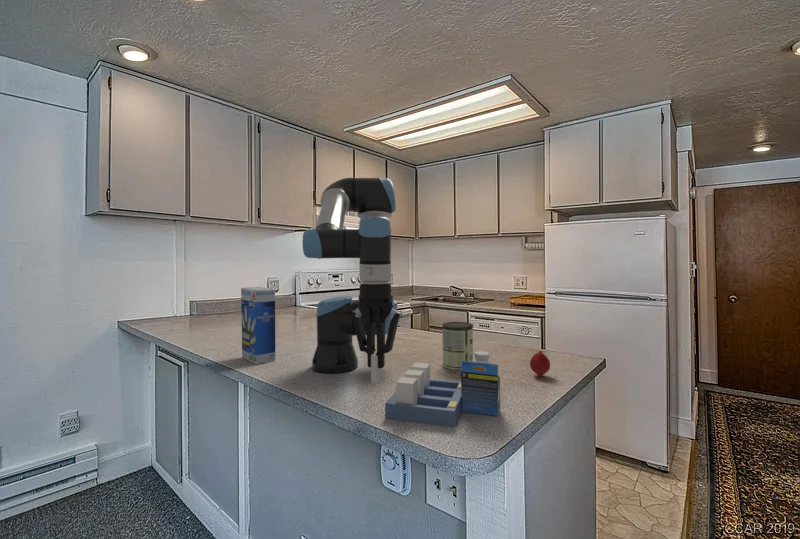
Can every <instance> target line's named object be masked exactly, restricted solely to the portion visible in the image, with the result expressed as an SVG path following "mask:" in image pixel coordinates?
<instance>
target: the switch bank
mask: <svg viewBox="0 0 800 539" xmlns="http://www.w3.org/2000/svg"><path fill="white" fill-rule="evenodd" d="M417 399H418V404H417V405H414V404H405V403H397V402H396V391H395V392H394V393H393V395H391V396H390V397H389V399H388V400H387V401H385V403H384V404H385V405H384V410H385V411H384V414H385V415H384V419H388V420H394V421H395V420H396V421H403V422H410V423H411V422H412V423H418V424H419V423H420V424H426V425H435V426H442V427H449V428H450V427H451V428H455V427H456V425H457V422H458V420H459V417H460V415H461V412H462V410H461V381H456V380H446V379H445V380H444V379H443V380H442V379H435V378H430V386H424V395H419V394H417Z"/></svg>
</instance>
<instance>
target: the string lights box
mask: <svg viewBox="0 0 800 539" xmlns="http://www.w3.org/2000/svg"><path fill="white" fill-rule="evenodd" d="M240 296H241V297H240V298H241V299H240V301H241V303H240V305H241V310H240V311H241V312H240V313H241V358H243V359H244V360H246V361H249V362H250V363H253V364H254V365H256V364H257V365H261V364H260V363H263V364H266V363H265V362H268V363H271V362H270V361H273V362H276V361H275V360H276V289H273V288H272V289H271V288H267V287H262V286H250V287H241V288H240Z"/></svg>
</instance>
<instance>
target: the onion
mask: <svg viewBox="0 0 800 539" xmlns="http://www.w3.org/2000/svg"><path fill="white" fill-rule="evenodd" d="M529 364H530V365H529V366H530V369H531V371H533V372H534V373H535V374H536V375H537V376H539V377H542V376H544V375H545V374H546V373H548V372H549V370H550V369H551V368H550V367H551V361H550V359H549V358H548V356H547V355H546V354H544V353H543V350H539V351H537V353H535V354H533V356H532V357H531V358H530V361H529Z"/></svg>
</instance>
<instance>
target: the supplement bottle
mask: <svg viewBox="0 0 800 539" xmlns="http://www.w3.org/2000/svg"><path fill="white" fill-rule="evenodd" d="M473 362H478V363H486V364H493V363H492V361H491V360H490V352H488V351H479V350H478V351H475V352H474V359H473ZM473 369H474V370H481V371H485V368H481V367H480V366H478V367H473Z"/></svg>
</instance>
